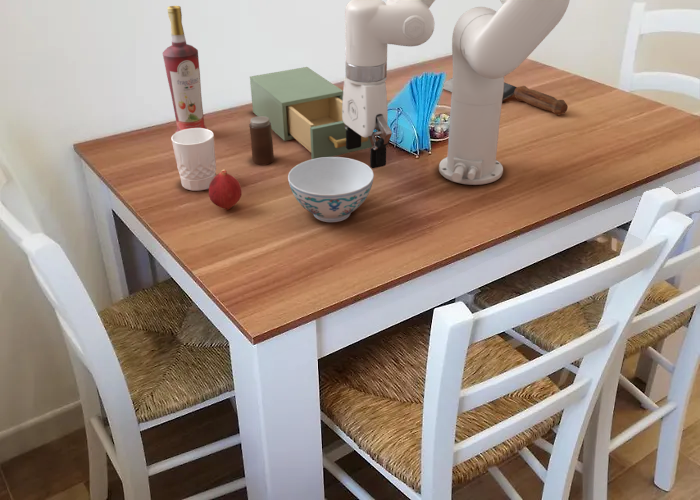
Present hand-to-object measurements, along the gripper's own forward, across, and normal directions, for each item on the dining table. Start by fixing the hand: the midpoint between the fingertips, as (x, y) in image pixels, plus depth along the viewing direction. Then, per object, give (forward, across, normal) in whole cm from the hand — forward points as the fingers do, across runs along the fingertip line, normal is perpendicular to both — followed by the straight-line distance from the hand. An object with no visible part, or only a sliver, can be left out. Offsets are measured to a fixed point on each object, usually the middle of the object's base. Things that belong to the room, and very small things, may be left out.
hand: (365, 157), depth 138 cm
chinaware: (+5, +10, -12) cm, 16 cm away
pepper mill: (+5, -18, -15) cm, 23 cm away
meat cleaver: (+4, -21, +50) cm, 54 cm away
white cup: (+5, -14, -30) cm, 33 cm away
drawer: (+4, -17, +1) cm, 18 cm away
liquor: (+5, -38, -24) cm, 45 cm away
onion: (+5, -1, -28) cm, 29 cm away
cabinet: (+5, -34, +1) cm, 35 cm away
